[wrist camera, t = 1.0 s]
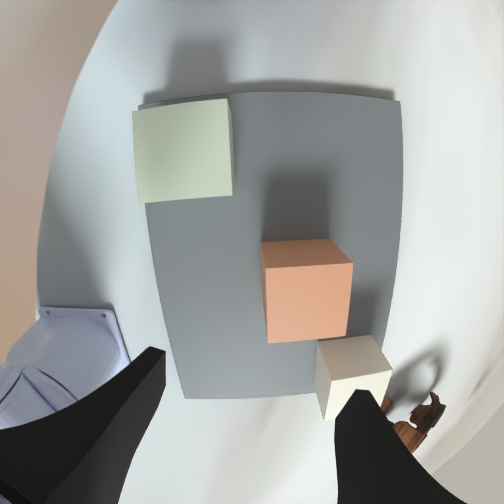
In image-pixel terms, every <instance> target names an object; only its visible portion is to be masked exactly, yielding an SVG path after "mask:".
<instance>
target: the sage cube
mask: <svg viewBox="0 0 504 504" xmlns="http://www.w3.org/2000/svg"><path fill="white" fill-rule="evenodd" d="M132 120H133V142H134V158H135V170H136V182H137V191H138V201H139V204H141V203H150V202H159V201H170V200H181V199H192V198H205V197H218V196H233V193H234V190H235V187H236V184H235V167H234V149H233V130H232V113H231V110H230V106H229V103H228V100H227V99H216V100H205V101H196V102H188V103H180V104H173V105H166V106H160V107H154V108H149V109H143V110H138V111H133V112H132Z"/></svg>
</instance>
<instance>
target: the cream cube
mask: <svg viewBox="0 0 504 504" xmlns="http://www.w3.org/2000/svg"><path fill="white" fill-rule="evenodd" d="M392 371H393V369H392V367H391V366H390V364H389V362H388V361H387V359H386V358H385V356H384V354H383V353H382V351H381V350H380V348H379V347H378V345H377V343H376V342H375V340H374V339H373V337H372V336H371V335H365V336H358V337H351V338H344V339H336V340H327V341H319V342H317V352H316V362H315V372H314V381H313V383H314V387H315V390H316V394H317V398H318V401H319V405H320V408H321V412H322V416H323V419H324V421H330V420H335V418H336V417H337V415H338V414H339V412H340V411H341V410H342V408H343V407H344V405H345V404H346V402H347V401H348V400H349V398H350V397H351V395H352V394H353V392H354V391H355V389H362V390H370V392H371V393H372V395H373V397H374V398H375V400H376V401H377V403H378V405H379V406H381V404H382V401H383V398H384V395H385V392H386V389H387V387H388V384H389V380H390V377H391V374H392Z"/></svg>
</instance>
